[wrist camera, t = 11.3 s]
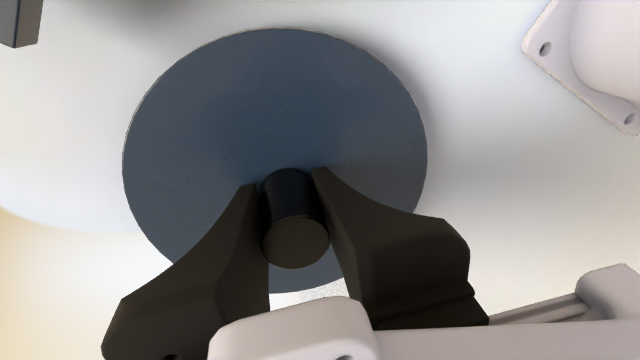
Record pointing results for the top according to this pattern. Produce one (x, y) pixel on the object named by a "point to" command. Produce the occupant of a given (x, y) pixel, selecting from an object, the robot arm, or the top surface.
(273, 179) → the lid
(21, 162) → the top surface
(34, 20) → the pot
